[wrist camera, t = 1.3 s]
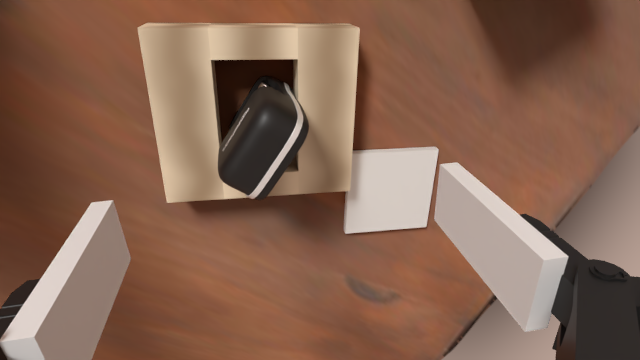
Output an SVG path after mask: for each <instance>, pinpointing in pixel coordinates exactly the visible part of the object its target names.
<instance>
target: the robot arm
mask: <svg viewBox="0 0 640 360" xmlns="http://www.w3.org/2000/svg"><path fill="white" fill-rule="evenodd" d="M434 220H435V221H436V222H437V224H438V225H439V226H440V227H441V229H442V230H443V231H444V232H445V234H446V235H447V236H448V237H449V238H450V240H451V241H452V242H453V243H454V245H455V246H456V247H457V248H458V250H459V251H460V252H461V253H462V255H463V256H464V257H465V258H466V260H467V261H468V262H469V263H470V265H471V266H472V267H473V268H474V269H475V271H476V272H477V273H478V274H479V276H480V277H481V278H482V279H483V281H484V282H485V283H486V284H487V286H488V287H489V288H490V289H491V291H492V292H493V293H494V294H495V296H496V297H497V298H498V299H499V300H500V302H501V303H502V304H503V305H504V307H505V308H506V309H507V310H508V312H509V313H510V314H511V315H512V316H513V318H514V319H515V320H516V321H517V323H518V324H519V325H520V327H521V328H522V329H523V330H524V331H525V332H527V331H532V330H538V329H544V328H547V327H548V324H549V320H550V317H551V314H553V315H554V316H555V317H556V318H557V319H558V320H559V321H560V322H561V323H560V326H559V329H558V332H557V335H556V338H555V342H554V345H553V349H555V350H556V360H640V277H631V276H630V275H629V274H628V273H626V272H625V271H624V270H623V269H621V268H620V267H618V266H616V265H614V264H611V263H608V262H605V261H601V260H594V259H593V260H588V259H587V258H585V257H584V256H583V255H582V254H580V253H579V252H578V251H577V250H575V249H574V248H573V247H572V246H571V245H569V244H568V243H567V242H566V241H564V240H563V239H562V238H559V236H558V235H557V234H556V233H554V232H553V231H550V229H549V228H548V227H547V226H546V225H545V224H543V223H542V222H541V221H539V220H537V219H535V218H533V217H531V216H529V215H527V214H521V215H519V214H518V213H516V212H515V211H514V210H513V209H512V208H510V207H509V206H508V205H507V204H506V203H505V202H503V201H502V200H501V199H500V198H499V197H497V196H496V195H495V194H494V193H493V192H492V191H490V190H489V189H488V188H487V187H486V186H484V185H483V184H482V183H481V182H480V181H479V180H477V179H476V178H475V177H474V176H473V175H471V174H470V173H469V172H468V171H467V170H466V169H464V168H463V167H462V166H461V165H460V164H458V163H447V164H440V171H439V180H438V189H437V199H436V208H435V217H434ZM130 260H131V257H130V254H129V250H128V247H127V244H126V241H125V237H124V234H123V231H122V227H121V224H120V221H119V218H118V214H117V211H116V208H115V205H114V201H113V200H110V201H101V202H92V203H91V204H90V206H89V207H88V209H87V210H86V212H85V213H84V215H83V216H82V218H81V219H80V221H79V222H78V224H77V225H76V227H75V228H74V230H73V231H72V233H71V234H70V236H69V237H68V239H67V240H66V242H65V243H64V245H63V246H62V248H61V249H60V251H59V252H58V254H57V255H56V257H55V258H54V260H53V261H52V263H51V264H50V266H49V267H48V269H47V270H46V272H45V273H44V275H43V276H42V278H41V279H37V280H29V281H26V282H25V283H24V284H23V285H21V286H20V287H19V288H18V289H16V290H15V291H14V292H12V293H11V295H10V296H9V297H8V299H7V300H6V302H5V303H4V304H3V306H2V309H0V360H91V359H92V357H93V354H94V352H95V349H96V347H97V344H98V342H99V339H100V337H101V334H102V331H103V329H104V326H105V324H106V321H107V319H108V316H109V314H110V311H111V309H112V306H113V303H114V301H115V298H116V296H117V293H118V291H119V288H120V286H121V283H122V281H123V278H124V275H125V273H126V270H127V268H128V265H129V263H130Z"/></svg>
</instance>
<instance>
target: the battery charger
mask: <svg viewBox="0 0 640 360" xmlns="http://www.w3.org/2000/svg"><path fill="white" fill-rule="evenodd" d="M308 131H309V122H308V119H307V116H306V114H305V112H304V110H303V108H302V106H301V104H300V103H299V101H298V100H297V99H296V97H295V95H294V93H293V90H292V88H291V87H289V86H288V84H286V83H285V82H281V81H280V80H278V79H276V78H273V77H270V76H263V77H260V78H259V79H258V80H257V81H256V83H255V84H254V86H253V87H252V89H251V91H250V92H249V94H248V95H247V97H246V99H245V100H244V102H243V104H242V105H241V107H240V109H239V110H238V112H237V113H236V115H235V117H234V119H233V120H232V122H231V124H230V130H229V132H228V134H227V135H226V137H225V138H224V140H223V142H222V144H221V145H220V148H219V152H218V174H219V177H220V179H221V180H222V181H223V182H224V183H225V184H227V185H228V186H230V187H232V188H234V189H236V190H238V191H240V192H242V193H244V194H245V195H246V196H247V197H249V198H251V199H254V198H255V199H257V200H262V199H264V198H266V197H267V196H268V195H269V193H270V192H271V191H272V189H273V188H274V186H275V185H276V184H277V182H278V181H279V179H280V178H281V176H282V175H283V174H284V172H285V171H286V169H287V168H288V166H289V165H290V163H291V162H292V160H293V159H294V157H295V156H296V154H297V153H298V151H299V150H300V148H301V147H302V145H303V143H304V141H305V139H306V137H307V135H308Z"/></svg>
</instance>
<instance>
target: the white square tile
mask: <svg viewBox="0 0 640 360" xmlns="http://www.w3.org/2000/svg"><path fill="white" fill-rule="evenodd" d="M438 151H439V149H437V148H436V147H419V148H398V149H377V150H357V151H352V168H351V184H350V191H346V195H345V213H344V232H345V234H348V233H360V232H372V231H384V230H396V229H408V228H420V227H426V226H427V220H428V214H429V207H430V201H431V195H432V189H433V182H434V176H435V170H436V164H437V157H438Z"/></svg>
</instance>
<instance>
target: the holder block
mask: <svg viewBox="0 0 640 360" xmlns="http://www.w3.org/2000/svg"><path fill="white" fill-rule="evenodd" d="M359 33H360V28H358V27H356V26H353V25H351V24H293V23H146V24H144V25H142V26H140V27H138V34H139V39H140V45H141V51H142V57H143V63H144V69H145V75H146V81H147V87H148V93H149V99H150V105H151V111H152V117H153V123H154V128H155V134H156V140H157V146H158V152H159V158H160V164H161V170H162V176H163V182H164V188H165V194H166V200H167V203H171V202H186V201H202V200H217V199H233V198H248V197H247V196H246V195H245V194H244V193H242V192H240V191H238V190H236V189H234V188H232V187H230V186H228V185H227V184H225V183H224V182H223V181H222V180H221V179H220V177H219V174H218V152H219V148H220V145H221V144H222V138H221V127H220V116H219V105H218V94H217V84H216V73H215V62H214V60H267V59H293V93H294V95H295V97H296V99H297V100H298V101H299V103H300V104H301V106H302V108H303V110H304V112H305V114H306V116H307V119H308V122H309V131H308V135H307V137H306V139H305V141H304V143H303V145H302V147H301V148H300V150H299V151H298V153H297V154H296V156H295V157H294V159H293V160H292V162H291V163H290V165H289V166H288V168H287V169H286V171H285V172H284V174H283V175H282V176H281V178H280V179H279V181H278V182H277V184H276V185H275V186H274V188H273V189H272V191H271V192H270V193H269V195H268V196H279V195H294V194H310V193H325V192H341V191H350V184H351V168H352V151H353V134H354V117H355V100H356V84H357V67H358V50H359Z"/></svg>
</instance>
